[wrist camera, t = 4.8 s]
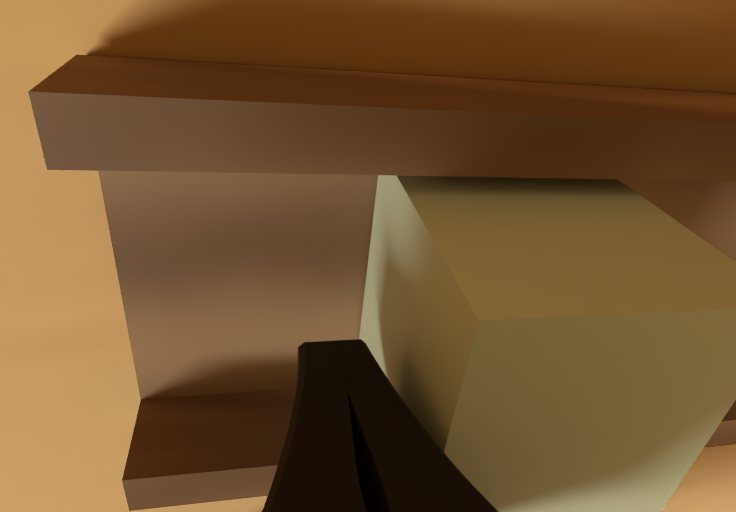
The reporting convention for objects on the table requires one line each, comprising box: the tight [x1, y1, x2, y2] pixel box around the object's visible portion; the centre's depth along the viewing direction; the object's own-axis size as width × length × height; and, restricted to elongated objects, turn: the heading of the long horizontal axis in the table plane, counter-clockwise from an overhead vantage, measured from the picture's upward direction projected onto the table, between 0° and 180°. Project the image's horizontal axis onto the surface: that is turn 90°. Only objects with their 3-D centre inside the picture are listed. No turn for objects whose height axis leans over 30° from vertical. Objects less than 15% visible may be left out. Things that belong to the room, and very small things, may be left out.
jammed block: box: [359, 175, 736, 512], centre depth 11 cm, size 7×5×6 cm
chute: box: [29, 55, 736, 511], centre depth 13 cm, size 10×19×3 cm, turn 84°
